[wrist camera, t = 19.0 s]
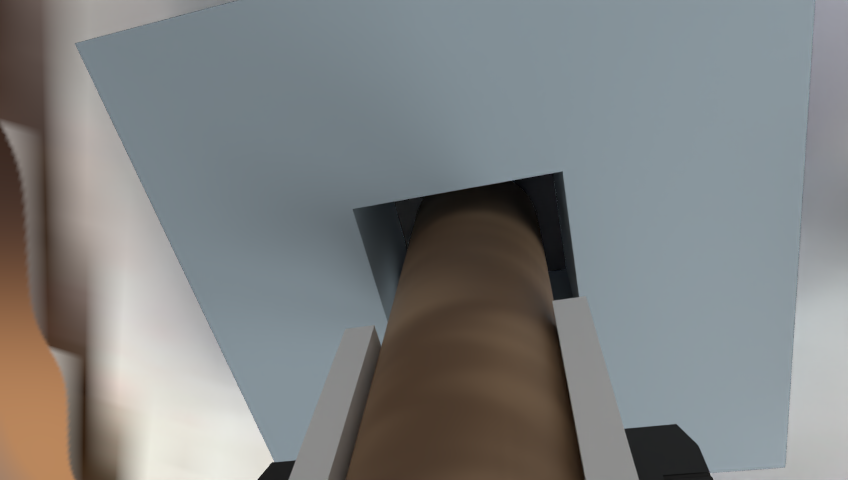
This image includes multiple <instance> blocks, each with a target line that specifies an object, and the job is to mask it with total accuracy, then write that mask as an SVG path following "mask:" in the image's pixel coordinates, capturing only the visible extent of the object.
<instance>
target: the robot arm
mask: <svg viewBox="0 0 848 480" xmlns="http://www.w3.org/2000/svg"><path fill="white" fill-rule="evenodd" d="M552 302H553V308H554V315H555V321H556V328H557V333H558V338H559V344H560V349H561V355H562V360H563V365H564V371H565V376H566V382H567V387H568V392H569V398H570V403H571V409H572V414H573V419H574V425H575V430H576V436H577V441H578V446H579V452H580V457H581V463H582V468H583V473H584V479H585V480H713V478H712V477H711V476H710V471H709V469H708V467H707V464H706V462H705V460H704V457H703V455H702V453H701V450H700V448H699V446H698V444H697V443H696V442H694V441H693V440H692V439H691V438H690V437H689V436H688V435H687V434H686V433H685V432H684V431H683V430H682V429H681V428H680V427H679V426H678V425H677V424H670V425H659V426H648V427H637V428H626V429H624V426H623V423H622V419H621V416H620V412H619V409H618V406H617V402H616V399H615V395H614V392H613V388H612V385H611V381H610V378H609V374H608V371H607V367H606V364H605V360H604V357H603V353H602V350H601V346H600V343H599V340H598V336H597V333H596V329H595V326H594V322H593V319H592V315H591V312H590V308H589V305H588V301H587V298H586V296H583V297H576V298H569V299H561V300H554V301H552ZM380 350H381V344H380V341H379V338H378V335H377V331H376V328H375V325H371V326H364V327H356V328H349V329H345V331H344V334H343V336H342V339H341V342H340V344H339V347H338V350H337V352H336V355H335V358H334V360H333V363H332V366H331V368H330V371H329V374H328V376H327V379H326V381H325V384H324V387H323V389H322V392H321V395H320V397H319V400H318V403H317V405H316V408H315V411H314V413H313V416H312V419H311V421H310V424H309V427H308V429H307V432H306V435H305V437H304V440H303V443H302V445H301V448H300V451H299V453H298V456H297V459H296V460H294V461H283V462H272V463H271V464H270V466H269V467H268V468H267V469H266V470H265V471H264V473H263V474H262V475H261V476H260V477H259V479H258V480H346V476H347V472H348V469H349V465H350V461H351V458H352V454H353V450H354V446H355V443H356V439H357V435H358V431H359V428H360V424H361V420H362V417H363V413H364V409H365V405H366V402H367V398H368V394H369V390H370V387H371V383H372V379H373V376H374V372H375V368H376V364H377V361H378V357H379V353H380Z"/></svg>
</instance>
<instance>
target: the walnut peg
mask: <svg viewBox="0 0 848 480" xmlns="http://www.w3.org/2000/svg"><path fill="white" fill-rule="evenodd" d="M552 301H554V299H553V294H552V289H551V284H550V278H549V273H548V268H547V263H546V258H545V252H544V247H543V242H542V237H541V232H540V226H539V221H538V217H537V212H536V210H535V207H534V205H533V203H532V201H531V199H530V198H529V196H528V195H527V194H526V193H525V192H524V191H523V190H522V189H521V188H520V187H519V186H518V185H517V184H515V183H514V182H513V181H506V182H501V183H495V184H489V185H484V186H478V187H473V188H467V189H462V190H456V191H450V192H445V193H439V194H434V195H428V196H425V197H424V199H423V201H422V202H421V204H420V206H419V209H418V212H417V215H416V219H415V223H414V227H413V230H412V234H411V238H410V241H409V245H408V249H407V253H406V256H405V260H404V264H403V268H402V271H401V275H400V279H399V282H398V286H397V290H396V294H395V297H394V301H393V305H392V309H391V312H390V316H389V320H388V323H387V327H386V331H385V335H384V338H383V342H382V346H381V350H380V353H379V357H378V361H377V364H376V368H375V372H374V376H373V379H372V383H371V387H370V390H369V394H368V398H367V402H366V405H365V409H364V413H363V417H362V420H361V424H360V428H359V431H358V435H357V439H356V443H355V446H354V450H353V454H352V458H351V461H350V465H349V469H348V472H347V476H346V480H585V479H584V473H583V468H582V463H581V457H580V452H579V446H578V441H577V436H576V430H575V425H574V419H573V414H572V409H571V403H570V398H569V392H568V387H567V382H566V376H565V371H564V365H563V360H562V355H561V349H560V344H559V338H558V333H557V328H556V321H555V315H554V308H553V302H552Z"/></svg>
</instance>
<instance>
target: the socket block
mask: <svg viewBox="0 0 848 480" xmlns="http://www.w3.org/2000/svg"><path fill="white" fill-rule="evenodd" d="M814 12H815V0H237V1H233V2H230V3H226V4H222V5H218V6H214V7H211V8H207V9H203V10H199V11H196V12H192V13H188V14H184V15H180V16H177V17H173V18H169V19H165V20H162V21H158V22H154V23H150V24H146V25H143V26H139V27H135V28H131V29H128V30H124V31H120V32H116V33H112V34H109V35H105V36H101V37H97V38H93V39H90V40H86V41H82V42H78V43H75V45H76V47H77V49H78V51H79V53H80V55H81V57H82V59H83V61H84V64H85V66H86V68H87V70H88V72H89V74H90V76H91V78H92V80H93V82H94V85H95V87H96V89H97V91H98V93H99V95H100V97H101V99H102V101H103V103H104V105H105V108H106V110H107V112H108V114H109V116H110V118H111V120H112V122H113V124H114V126H115V129H116V131H117V133H118V135H119V137H120V139H121V141H122V143H123V145H124V147H125V149H126V152H127V154H128V156H129V158H130V160H131V162H132V164H133V166H134V168H135V170H136V173H137V175H138V177H139V179H140V181H141V183H142V185H143V187H144V189H145V191H146V193H147V196H148V198H149V200H150V202H151V204H152V206H153V208H154V210H155V212H156V214H157V216H158V219H159V221H160V223H161V225H162V227H163V229H164V231H165V233H166V235H167V237H168V240H169V242H170V244H171V246H172V248H173V250H174V252H175V254H176V256H177V258H178V260H179V263H180V265H181V267H182V269H183V271H184V273H185V275H186V277H187V279H188V281H189V284H190V286H191V288H192V290H193V292H194V294H195V296H196V298H197V300H198V302H199V304H200V307H201V309H202V311H203V313H204V315H205V317H206V319H207V321H208V323H209V325H210V328H211V330H212V332H213V334H214V336H215V338H216V340H217V342H218V344H219V346H220V348H221V351H222V353H223V355H224V357H225V359H226V361H227V363H228V365H229V367H230V369H231V372H232V374H233V376H234V378H235V380H236V382H237V384H238V386H239V388H240V390H241V392H242V395H243V397H244V399H245V401H246V403H247V405H248V407H249V409H250V411H251V413H252V416H253V418H254V420H255V422H256V424H257V426H258V428H259V430H260V432H261V434H262V436H263V439H264V441H265V443H266V445H267V447H268V449H269V451H270V453H271V455H272V457H273V460H274V462H283V461H294V460H296V459H297V456H298V453H299V451H300V448H301V445H302V443H303V440H304V437H305V435H306V432H307V429H308V427H309V424H310V421H311V419H312V416H313V413H314V411H315V408H316V405H317V403H318V400H319V397H320V395H321V392H322V389H323V387H324V384H325V381H326V379H327V376H328V374H329V371H330V368H331V366H332V363H333V360H334V358H335V355H336V352H337V350H338V347H339V344H340V342H341V339H342V336H343V334H344V331H345V329H349V328H356V327H364V326H371V325H375V328H376V331H377V335H378V338H379V341H380V344H381V346H382V342H383V338H384V335H385V331H386V327H387V323H388V320H389V316H390V312H391V309H392V305H393V301H394V297H395V294H396V290H397V286H398V282H399V279H400V275H401V271H402V268H403V264H404V260H405V256H406V253H407V246H406V243H405V239H404V236H403V232H402V228H401V225H400V221H399V217H398V214H397V210H396V206H395V203H394V202H395V201H400V200H406V199H411V198H417V197H422V196H428V195H434V194H439V193H445V192H450V191H456V190H462V189H467V188H473V187H478V186H484V185H489V184H495V183H501V182H506V181H512V180H517V179H523V178H528V177H534V176H540V175H545V174H551V173H553V179H554V186H555V193H556V200H557V208H558V215H559V222H560V229H561V236H562V243H563V250H564V258H565V265H566V269H564V270H557V271H550V272H548V273H549V278H550V284H551V289H552V294H553V299H554V300H561V299H569V298H576V297H583V296H586V298H587V301H588V305H589V308H590V312H591V315H592V319H593V322H594V326H595V329H596V333H597V336H598V340H599V343H600V346H601V350H602V353H603V357H604V360H605V364H606V367H607V371H608V374H609V378H610V381H611V385H612V388H613V392H614V395H615V399H616V402H617V406H618V409H619V412H620V416H621V419H622V423H623V426H624V429H626V428H637V427H648V426H659V425H670V424H677V425H678V426H679V427H680V428H681V429H682V430H683V431H684V432H685V433H686V434H687V435H688V436H689V437H690V438H691V439H692V440H693V441H694V442H696V443H697V444H698V446H699V448H700V450H701V453H702V455H703V457H704V460H705V462H706V464H707V467H708V469H709V471H710V473H717V472H731V471H744V470H757V469H770V468H784V467H785V464H786V448H787V433H788V417H789V401H790V386H791V370H792V355H793V339H794V324H795V308H796V292H797V277H798V261H799V246H800V230H801V214H802V199H803V183H804V168H805V152H806V136H807V121H808V105H809V90H810V74H811V59H812V43H813V27H814Z"/></svg>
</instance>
